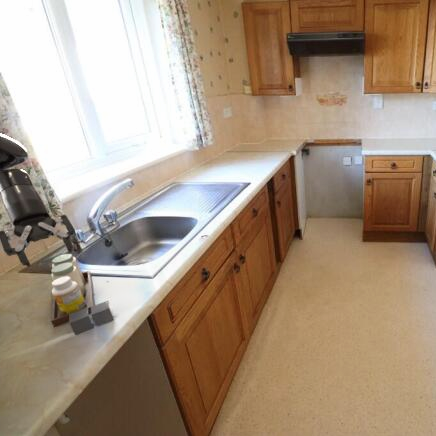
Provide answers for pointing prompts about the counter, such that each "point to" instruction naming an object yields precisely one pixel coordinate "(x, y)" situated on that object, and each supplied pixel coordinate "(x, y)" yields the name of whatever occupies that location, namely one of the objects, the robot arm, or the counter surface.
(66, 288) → the supplement bottle
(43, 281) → the counter surface
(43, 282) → the counter surface
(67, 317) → the tray
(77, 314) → the grey blocks
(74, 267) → the cream bottles
